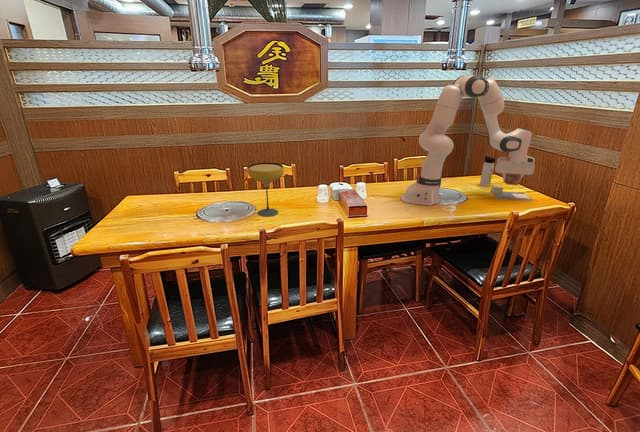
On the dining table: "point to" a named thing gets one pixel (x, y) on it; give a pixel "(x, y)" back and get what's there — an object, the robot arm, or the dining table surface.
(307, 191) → the dining table surface
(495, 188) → the sage block
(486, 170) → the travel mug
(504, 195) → the build board
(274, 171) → the cocktail glass
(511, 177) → the walnut block
